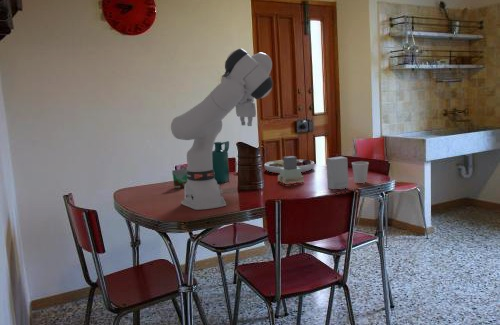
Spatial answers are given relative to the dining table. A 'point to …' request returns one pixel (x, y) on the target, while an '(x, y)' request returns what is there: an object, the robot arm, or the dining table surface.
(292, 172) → the tower top
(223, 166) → the teal gas canister
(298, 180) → the tower base
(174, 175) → the food container
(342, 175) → the skincare box
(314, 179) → the dining table surface
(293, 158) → the grey block
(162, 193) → the dining table surface
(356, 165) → the dixie cup
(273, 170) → the bowl
